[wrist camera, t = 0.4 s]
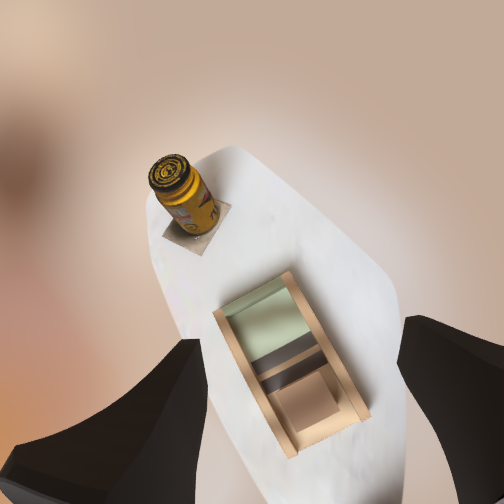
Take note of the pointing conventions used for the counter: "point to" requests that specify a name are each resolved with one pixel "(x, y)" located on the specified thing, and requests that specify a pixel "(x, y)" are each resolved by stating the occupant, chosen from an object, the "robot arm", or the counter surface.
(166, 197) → the condiment
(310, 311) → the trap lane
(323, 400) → the walnut block
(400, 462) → the counter surface
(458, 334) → the robot arm
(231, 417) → the counter surface
